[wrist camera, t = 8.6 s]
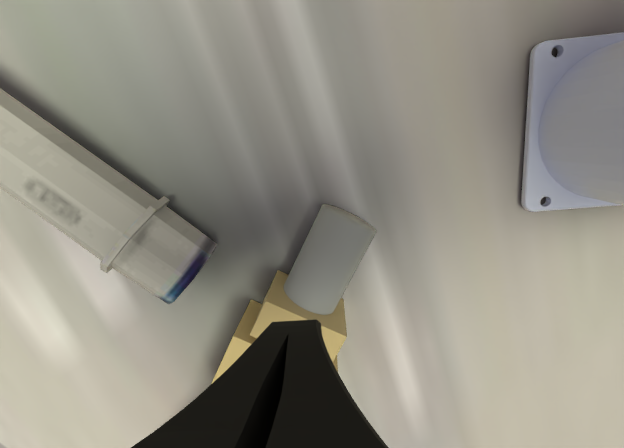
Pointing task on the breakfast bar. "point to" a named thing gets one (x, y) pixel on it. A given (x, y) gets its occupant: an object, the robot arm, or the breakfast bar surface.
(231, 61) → the breakfast bar surface
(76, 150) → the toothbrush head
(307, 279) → the valve pipe
